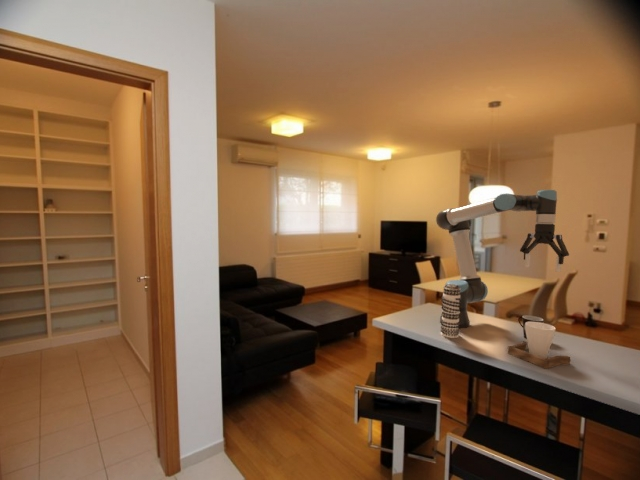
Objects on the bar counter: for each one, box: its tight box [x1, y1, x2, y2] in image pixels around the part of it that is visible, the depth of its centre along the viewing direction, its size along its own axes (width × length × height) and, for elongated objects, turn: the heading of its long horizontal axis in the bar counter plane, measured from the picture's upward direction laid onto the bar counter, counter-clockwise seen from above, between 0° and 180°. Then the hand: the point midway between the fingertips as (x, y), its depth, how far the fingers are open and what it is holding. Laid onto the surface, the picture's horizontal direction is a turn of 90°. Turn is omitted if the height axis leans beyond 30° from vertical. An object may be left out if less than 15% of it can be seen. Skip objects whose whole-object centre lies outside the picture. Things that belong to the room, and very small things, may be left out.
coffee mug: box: [518, 315, 545, 340], centre depth 158 cm, size 12×9×10 cm
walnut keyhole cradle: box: [507, 340, 571, 370], centre depth 134 cm, size 19×14×3 cm
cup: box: [525, 322, 557, 359], centre depth 134 cm, size 10×10×14 cm
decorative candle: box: [440, 283, 462, 339], centre depth 158 cm, size 9×9×25 cm
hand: (541, 269), depth 150 cm, fingers open, 13 cm apart
